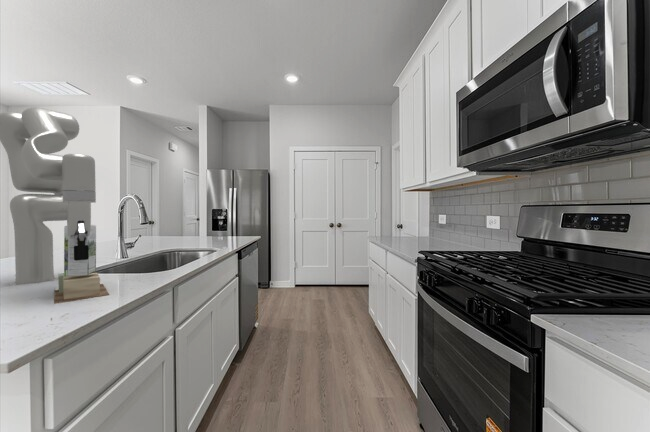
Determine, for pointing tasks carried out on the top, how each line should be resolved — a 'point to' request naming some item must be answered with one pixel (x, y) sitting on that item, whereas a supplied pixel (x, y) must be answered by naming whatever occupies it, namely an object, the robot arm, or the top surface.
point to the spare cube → (60, 282)
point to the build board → (60, 298)
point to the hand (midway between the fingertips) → (80, 257)
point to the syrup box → (79, 266)
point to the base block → (81, 286)
